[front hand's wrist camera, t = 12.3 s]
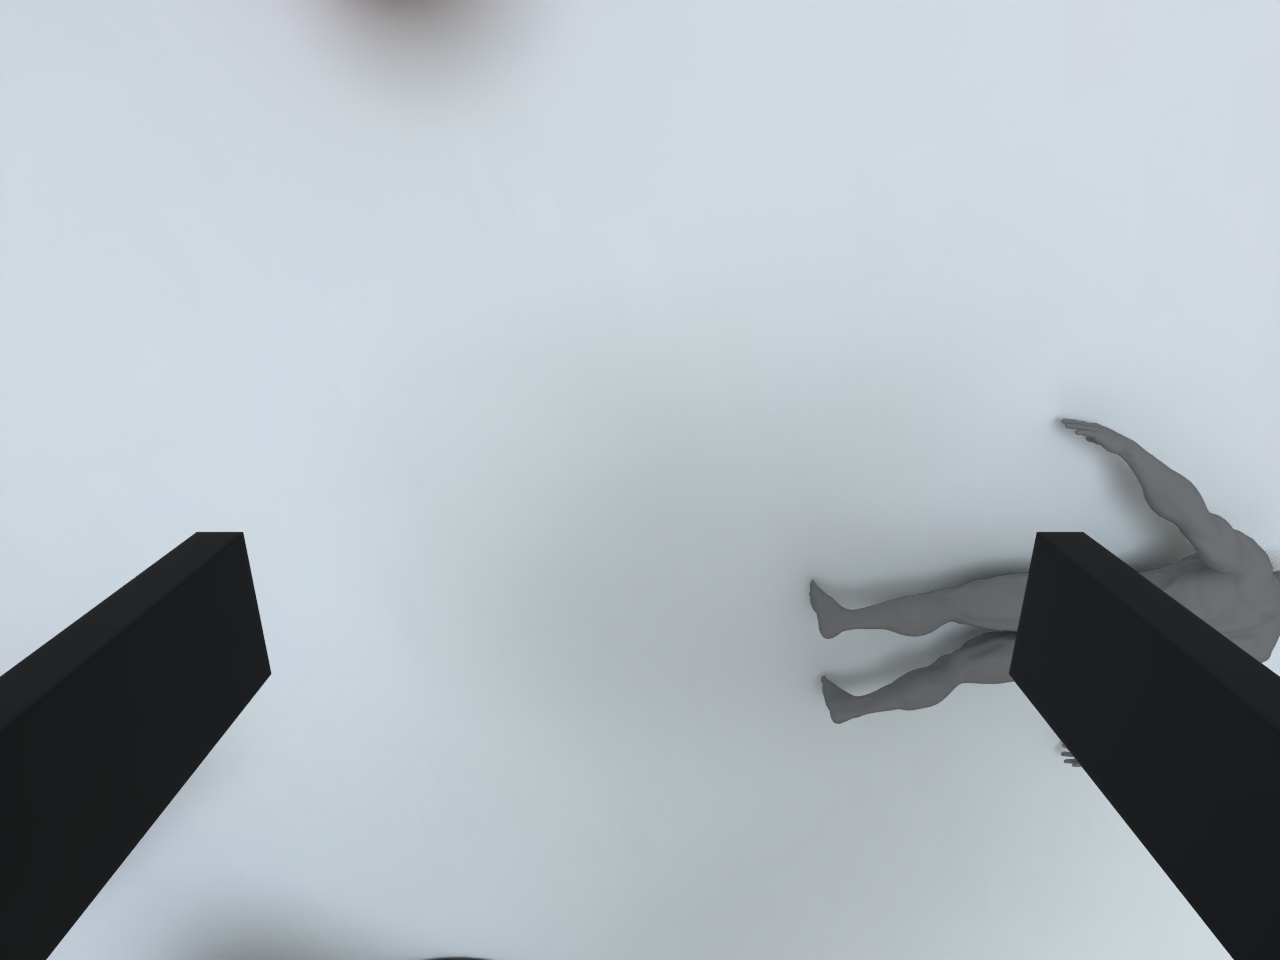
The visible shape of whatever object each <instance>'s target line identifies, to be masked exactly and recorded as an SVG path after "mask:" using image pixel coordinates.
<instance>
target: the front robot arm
mask: <svg viewBox="0 0 1280 960" xmlns="http://www.w3.org/2000/svg"><path fill="white" fill-rule="evenodd" d="M270 675H271V670H270V665H269V660H268V655H267V650H266V645H265V640H264V635H263V630H262V625H261V620H260V614H259V609H258V604H257V599H256V594H255V589H254V584H253V579H252V574H251V569H250V564H249V559H248V554H247V549H246V544H245V539H244V534H243V532H196V533H195V534H194V535H192V536H191V537H189V538H188V539H187V540H185V541H184V542H183V543H181V544H180V545H179V546H177V547H176V548H175V549H173V550H172V551H170V552H169V553H168V554H166V555H165V556H164V557H162V558H161V559H160V560H158V561H157V562H156V563H154V564H153V565H151V566H150V567H149V568H147V569H146V570H145V571H143V572H142V573H141V574H139V575H138V576H136V577H135V578H134V579H132V580H131V581H130V582H128V583H127V584H126V585H124V586H123V587H122V588H120V589H119V590H117V591H116V592H115V593H113V594H112V595H111V596H109V597H108V598H107V599H105V600H104V601H103V602H101V603H100V604H98V605H97V606H96V607H94V608H93V609H92V610H90V611H89V612H88V613H86V614H85V615H83V616H82V617H81V618H79V619H78V620H77V621H75V622H74V623H73V624H71V625H70V626H69V627H67V628H66V629H64V630H63V631H62V632H60V633H59V634H58V635H56V636H55V637H54V638H52V639H51V640H50V641H48V642H47V643H45V644H44V645H43V646H41V647H40V648H39V649H37V650H36V651H35V652H33V653H32V654H30V655H29V656H28V657H26V658H25V659H24V660H22V661H21V662H20V663H18V664H17V665H16V666H14V667H13V668H11V669H10V670H9V671H7V672H6V673H5V674H3V675H2V676H1V677H0V960H46V959H47V958H48V957H49V955H50V954H51V953H52V952H53V950H54V949H55V948H56V947H57V945H58V944H59V943H60V941H61V940H62V939H63V938H64V936H65V935H66V934H67V933H68V931H69V930H70V929H71V927H72V926H73V925H74V924H75V922H76V921H77V920H78V919H79V917H80V916H81V915H82V914H83V912H84V911H85V910H86V908H87V907H88V906H89V905H90V903H91V902H92V901H93V900H94V898H95V897H96V896H97V894H98V893H99V892H100V891H101V889H102V888H103V887H104V886H105V884H106V883H107V882H108V881H109V879H110V878H111V877H112V875H113V874H114V873H115V872H116V870H117V869H118V868H119V867H120V865H121V864H122V863H123V861H124V860H125V859H126V858H127V856H128V855H129V854H130V853H131V851H132V850H133V849H134V848H135V846H136V845H137V844H138V842H139V841H140V840H141V839H142V837H143V836H144V835H145V834H146V832H147V831H148V830H149V828H150V827H151V826H152V825H153V823H154V822H155V821H156V820H157V818H158V817H159V816H160V815H161V813H162V812H163V811H164V809H165V808H166V807H167V806H168V804H169V803H170V802H171V801H172V799H173V798H174V797H175V795H176V794H177V793H178V792H179V790H180V789H181V788H182V787H183V785H184V784H185V783H186V782H187V780H188V779H189V778H190V776H191V775H192V774H193V773H194V771H195V770H196V769H197V768H198V766H199V765H200V764H201V762H202V761H203V760H204V759H205V757H206V756H207V755H208V754H209V752H210V751H211V750H212V749H213V747H214V746H215V745H216V743H217V742H218V741H219V740H220V738H221V737H222V736H223V735H224V733H225V732H226V731H227V729H228V728H229V727H230V726H231V724H232V723H233V722H234V721H235V719H236V718H237V717H238V716H239V714H240V713H241V712H242V710H243V709H244V708H245V707H246V705H247V704H248V703H249V702H250V700H251V699H252V698H253V696H254V695H255V694H256V693H257V691H258V690H259V689H260V688H261V686H262V685H263V684H264V683H265V681H266V680H267V679H268V677H269V676H270ZM1009 675H1010V676H1011V677H1012V679H1013V680H1014V681H1015V683H1016V684H1017V685H1018V686H1019V688H1020V689H1021V690H1022V691H1023V693H1024V694H1025V695H1026V696H1027V698H1028V699H1029V700H1030V702H1031V703H1032V704H1033V705H1034V707H1035V708H1036V709H1037V710H1038V712H1039V713H1040V714H1041V716H1042V717H1043V718H1044V719H1045V721H1046V722H1047V723H1048V724H1049V726H1050V727H1051V728H1052V729H1053V731H1054V732H1055V733H1056V735H1057V736H1058V737H1059V738H1060V740H1061V741H1062V742H1063V743H1064V745H1065V746H1066V747H1067V749H1068V750H1069V751H1070V752H1071V754H1072V755H1073V756H1074V757H1075V759H1076V760H1077V761H1078V762H1079V764H1080V765H1081V766H1082V768H1083V769H1084V770H1085V771H1086V773H1087V774H1088V775H1089V776H1090V778H1091V779H1092V780H1093V782H1094V783H1095V784H1096V785H1097V787H1098V788H1099V789H1100V790H1101V792H1102V793H1103V794H1104V795H1105V797H1106V798H1107V799H1108V801H1109V802H1110V803H1111V804H1112V806H1113V807H1114V808H1115V809H1116V811H1117V812H1118V813H1119V815H1120V816H1121V817H1122V818H1123V820H1124V821H1125V822H1126V823H1127V825H1128V826H1129V827H1130V828H1131V830H1132V831H1133V832H1134V834H1135V835H1136V836H1137V837H1138V839H1139V840H1140V841H1141V842H1142V844H1143V845H1144V846H1145V848H1146V849H1147V850H1148V851H1149V853H1150V854H1151V855H1152V856H1153V858H1154V859H1155V860H1156V861H1157V863H1158V864H1159V865H1160V867H1161V868H1162V869H1163V870H1164V872H1165V873H1166V874H1167V875H1168V877H1169V878H1170V879H1171V881H1172V882H1173V883H1174V884H1175V886H1176V887H1177V888H1178V889H1179V891H1180V892H1181V893H1182V894H1183V896H1184V897H1185V898H1186V900H1187V901H1188V902H1189V903H1190V905H1191V906H1192V907H1193V908H1194V910H1195V911H1196V912H1197V914H1198V915H1199V916H1200V917H1201V919H1202V920H1203V921H1204V922H1205V924H1206V925H1207V926H1208V927H1209V929H1210V930H1211V931H1212V933H1213V934H1214V935H1215V936H1216V938H1217V939H1218V940H1219V941H1220V943H1221V944H1222V945H1223V947H1224V948H1225V949H1226V950H1227V952H1228V953H1229V954H1230V955H1231V957H1232V958H1233V959H1234V960H1280V677H1279V676H1278V675H1277V674H1275V673H1274V672H1273V671H1271V670H1270V669H1269V668H1267V667H1266V666H1264V665H1263V664H1262V663H1260V662H1259V661H1258V660H1256V659H1255V658H1254V657H1252V656H1251V655H1250V654H1248V653H1247V652H1245V651H1244V650H1243V649H1241V648H1240V647H1239V646H1237V645H1236V644H1235V643H1233V642H1232V641H1230V640H1229V639H1228V638H1226V637H1225V636H1224V635H1222V634H1221V633H1220V632H1218V631H1217V630H1216V629H1214V628H1213V627H1211V626H1210V625H1209V624H1207V623H1206V622H1205V621H1203V620H1202V619H1201V618H1199V617H1198V616H1197V615H1195V614H1194V613H1192V612H1191V611H1190V610H1188V609H1187V608H1186V607H1184V606H1183V605H1182V604H1180V603H1179V602H1177V601H1176V600H1175V599H1173V598H1172V597H1171V596H1169V595H1168V594H1167V593H1165V592H1164V591H1163V590H1161V589H1160V588H1158V587H1157V586H1156V585H1154V584H1153V583H1152V582H1150V581H1149V580H1148V579H1146V578H1145V577H1144V576H1142V575H1141V574H1139V573H1138V572H1137V571H1135V570H1134V569H1133V568H1131V567H1130V566H1129V565H1127V564H1126V563H1124V562H1123V561H1122V560H1120V559H1119V558H1118V557H1116V556H1115V555H1114V554H1112V553H1111V552H1110V551H1108V550H1107V549H1105V548H1104V547H1103V546H1101V545H1100V544H1099V543H1097V542H1096V541H1095V540H1093V539H1092V538H1091V537H1089V536H1088V535H1086V534H1085V533H1084V532H1037V534H1036V539H1035V544H1034V549H1033V554H1032V559H1031V564H1030V569H1029V574H1028V579H1027V584H1026V589H1025V594H1024V599H1023V604H1022V609H1021V614H1020V620H1019V625H1018V630H1017V635H1016V640H1015V645H1014V650H1013V655H1012V660H1011V665H1010V670H1009Z"/></svg>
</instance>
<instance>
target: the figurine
mask: <svg viewBox="0 0 1280 960" xmlns="http://www.w3.org/2000/svg"><path fill="white" fill-rule="evenodd" d="M1062 422H1063V423H1065V427H1066V428H1071V429H1078V430H1076V431H1075V434H1077V435H1087V437H1086V440H1087V441H1089V442H1093V443H1096V444H1100V445H1101V446H1102V447H1103V448H1104V449H1106V450H1107V451H1109V452H1112V453H1115V454H1118V455H1119V456H1121V457H1122V458H1123V459H1124V460H1125V461H1126V463H1127V464H1128V465H1129V466H1130V468H1131V469H1132V471H1133V472H1134V474H1135V475H1136V477H1137V479H1138V480H1139V482H1140V484H1141V486H1142V489H1143V493H1144V497H1145V499H1146V501H1147V503H1148V505H1149V506H1150V507H1151V509H1152V510H1153V511H1154V512H1155V513H1157V514H1158V515H1159V516H1161V517H1162V518H1164V519H1166V520H1168V521H1170V522H1172V523H1174V524H1175V525H1176V526H1177V527H1178V528H1179V529H1180V531H1181V532H1182V533H1183V535H1184V536H1185V537H1186V538H1187V539H1189V541H1190V542H1191V543H1192V544H1193V546H1194V548H1195V550H1196V552H1197V553H1196V554H1193V555H1190V556H1188V557H1186V558H1185V559H1183V560H1181V561H1179V562H1177V563H1176V564H1173V565H1168V566H1165V567H1163V568H1159V569H1152V570H1149V571H1146V572H1138V573H1139V574H1141V575H1142V576H1144V577H1145V578H1146V579H1148V580H1149V581H1150V582H1152V583H1153V584H1154V585H1156V586H1157V587H1158V588H1160V589H1161V590H1163V591H1164V592H1165V593H1167V594H1168V595H1169V596H1171V597H1172V598H1173V599H1175V600H1176V601H1177V602H1179V603H1180V604H1182V605H1183V606H1184V607H1186V608H1187V609H1188V610H1190V611H1191V612H1192V613H1194V614H1195V615H1197V616H1198V617H1199V618H1201V619H1202V620H1203V621H1205V622H1206V623H1207V624H1209V625H1210V626H1211V627H1213V628H1214V629H1216V630H1217V631H1218V632H1220V633H1221V634H1222V635H1224V636H1225V637H1226V638H1228V639H1229V640H1230V641H1232V642H1233V643H1235V644H1236V645H1237V646H1239V647H1240V648H1241V649H1243V650H1244V651H1245V652H1247V653H1248V654H1250V655H1251V656H1252V657H1254V658H1255V659H1256V660H1258V661H1259V662H1260V663H1263V662H1265V661H1267V660H1268V659H1269V658H1270V656H1271V652H1272V650H1273V648H1274V647H1275V645H1276V643H1277V640H1278V638H1279V636H1280V571H1275V572H1273V568H1272V565H1271V563H1270V560H1269V557H1268V555H1267V554H1266V552H1265V551H1264V550H1263V549H1262V548H1261V547H1260V546H1259V545H1258V544H1257V543H1256V542H1255V541H1254V540H1253V539H1252V538H1250V537H1248V536H1247V535H1245V534H1243V533H1242V532H1240V531H1238V530H1234V529H1233V528H1232V527H1231V525H1230V524H1229V523H1228V522H1227V521H1226V520H1225V519H1223V518H1222V517H1220V516H1218V515H1215V514H1212V513H1209V511H1208V509H1207V507H1206V505H1205V503H1204V501H1203V498H1202V496H1201V495H1200V493H1199V492H1198V490H1197V489H1196V487H1195V486H1194V485H1193V484H1192V483H1191V482H1190V481H1189V480H1188V479H1186V478H1185V477H1183V476H1182V475H1180V474H1179V473H1177V472H1175V471H1173V470H1172V469H1170V468H1169V467H1167V466H1166V465H1165V464H1164V463H1162V462H1161V461H1159V460H1158V459H1156V458H1155V457H1154V456H1153V455H1151V454H1150V453H1148V452H1147V451H1145V450H1144V449H1143V448H1142V447H1141V446H1139V445H1138V444H1137V443H1136V442H1134V441H1133V440H1131V439H1129V438H1127V437H1125V436H1123V435H1121V434H1119V433H1117V432H1115V431H1113V430H1111V429H1109V428H1107V427H1104V426H1102V425H1099V424H1097V423H1087V422H1085V421H1078V420H1073V419H1062ZM1028 574H1029V573H1015V574H1009V575H1002V576H995V577H992V578H990V579H978V580H974V581H971V582H968V583H966V584H964V585H963V586H962V587H958V588H951V587H950V588H946V589H941V590H936V591H933V592H930V593H927V594H919V595H912V596H906V597H901V598H897V599H893V600H889V601H886V602H883V603H880V604H876V605H873V606H869V607H866V608H862V609H856V610H849V609H845V608H843V607H841V606H840V605H839V604H838V603H837V602H836V601H835V600H834V599H833V598H831V597H830V596H828V595H827V594H825V593H824V592H823V591H822V590H821V589H820V588H819V587H818V586H817V585H816V583H815V582H814V581H813V580H812V581H811V583H810V587H811V588H810V590H811V592H810V601H811V605H812V608H813V610H814V611H815V612H816V613H817V617H818V623H819V630H820V633H821V635H822V636H823V637H824V638H826V639H830V638H833V637H835V636H837V635H838V634H840V633H841V632H843V631H846V630H851V629H886V630H890V631H893V632H896V633H898V634H902V635H906V636H922V635H926V634H928V633H930V632H932V631H934V630H936V629H937V628H939V627H940V626H942V625H944V624H945V623H947V622H950V621H954V622H957V623H960V624H968V625H972V626H976V627H980V628H985V629H991V630H998V631H1001V632H990V633H986V634H983V635H980V636H978V637H976V638H974V639H972V640H970V641H968V642H966V643H965V644H964V645H963V646H962V647H961V648H960V649H957V650H955V651H954V652H952V653H951V654H947V655H944V656H942V657H940V658H938V659H937V660H936V661H935V662H934V663H932V664H931V665H929V666H927V667H923V668H919V669H916V670H913V671H910V672H908V673H907V674H905V675H903V676H901V677H900V678H898V679H896V680H895V681H894V682H892V683H891V684H889V685H886V686H884V687H882V688H880V689H878V690H877V691H874V692H872V693H870V694H867V695H864V696H853V695H851V694H849V693H847V692H845V691H844V690H842V689H840V688H839V687H838V686H836V685H835V684H833V683H832V682H830V681H829V680H827V679H826V677H825V676H823V677H822V678H821V682H822V683H823V686H822V690H823V695H824V698H825V702H826V705H827V707H828V709H829V710H830V715H831V718H832V720H833V722H834V723H837V724H840V723H843V722H845V721H848V720H850V719H852V718H856V717H860V716H862V715H865V714H869V713H875V712H882V711H890V710H896V709H902V710H916V709H921V708H926V707H931V706H933V705H936V704H938V703H939V702H941V701H942V700H943V699H945V698H946V697H947V696H948V695H949V694H950V693H951V692H952V691H953V690H954V688H955V687H957V686H958V685H959V684H961V683H979V684H999V683H1006V682H1012V681H1014V680H1013V679H1012V677H1011V676H1010V675H1009V670H1010V665H1011V660H1012V655H1013V650H1014V645H1015V640H1016V635H1017V630H1018V625H1019V620H1020V614H1021V609H1022V604H1023V599H1024V594H1025V589H1026V584H1027V579H1028ZM1062 746H1063V747H1065V748H1067V747H1066V746H1065V745H1064V743H1063V744H1062ZM1061 755H1062V756H1068V757H1074V756H1073V755H1072V754H1071V752H1062V753H1061ZM1064 762H1065V763H1073V764H1072V766H1073V767H1081V765H1080V764H1079V762H1078V761H1077V760H1076V759H1066V760H1064Z"/></svg>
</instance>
